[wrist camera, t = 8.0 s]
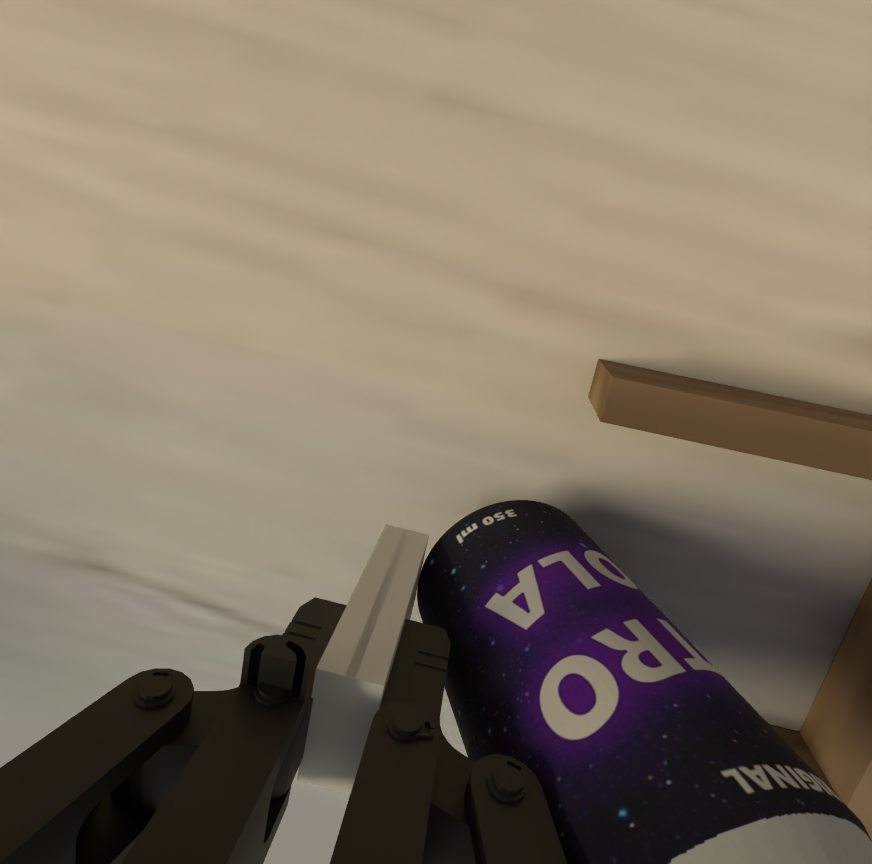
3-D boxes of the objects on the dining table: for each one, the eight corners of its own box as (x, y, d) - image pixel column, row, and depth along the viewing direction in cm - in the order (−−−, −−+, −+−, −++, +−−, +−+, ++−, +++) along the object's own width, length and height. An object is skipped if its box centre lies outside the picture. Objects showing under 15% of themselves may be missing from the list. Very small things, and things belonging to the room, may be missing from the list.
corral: (598, 358, 18) (613, 377, 15) (985, 438, 17) (1080, 474, 14) (508, 688, 21) (506, 753, 19) (822, 768, 20) (870, 849, 18)
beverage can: (605, 569, 20) (989, 989, 9) (473, 668, 20) (696, 1203, 9) (523, 452, 18) (904, 824, 7) (375, 563, 18) (514, 1109, 7)
